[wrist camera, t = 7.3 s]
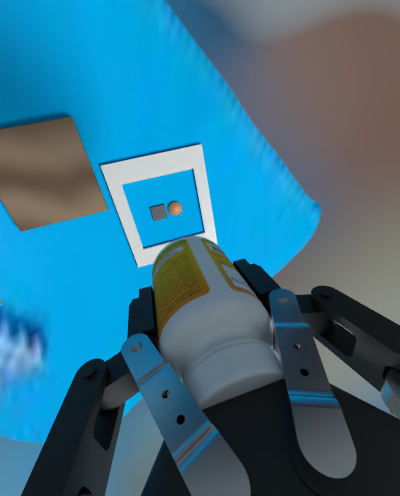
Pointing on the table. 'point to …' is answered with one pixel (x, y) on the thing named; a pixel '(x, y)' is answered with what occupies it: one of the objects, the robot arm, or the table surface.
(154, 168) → the white square frame
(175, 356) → the supplement bottle
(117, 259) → the table surface
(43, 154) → the walnut coaster
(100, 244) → the table surface
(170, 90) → the table surface
